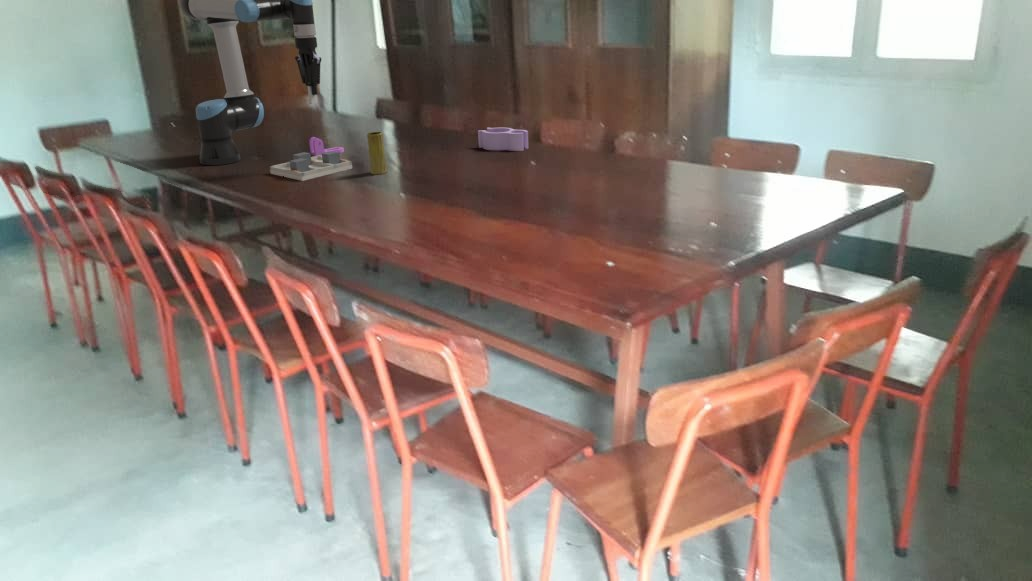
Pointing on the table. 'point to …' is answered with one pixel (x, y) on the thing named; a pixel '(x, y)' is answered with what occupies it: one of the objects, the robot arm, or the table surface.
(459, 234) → the table surface
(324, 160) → the slider
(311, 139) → the bracket
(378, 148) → the vase
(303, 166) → the slider
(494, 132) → the clip
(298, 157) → the slider
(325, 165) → the switch board
